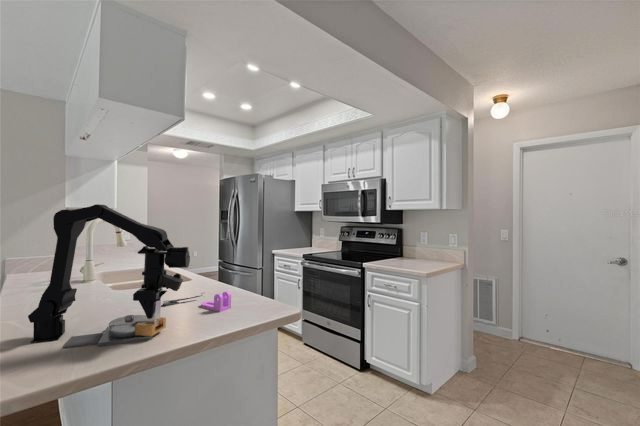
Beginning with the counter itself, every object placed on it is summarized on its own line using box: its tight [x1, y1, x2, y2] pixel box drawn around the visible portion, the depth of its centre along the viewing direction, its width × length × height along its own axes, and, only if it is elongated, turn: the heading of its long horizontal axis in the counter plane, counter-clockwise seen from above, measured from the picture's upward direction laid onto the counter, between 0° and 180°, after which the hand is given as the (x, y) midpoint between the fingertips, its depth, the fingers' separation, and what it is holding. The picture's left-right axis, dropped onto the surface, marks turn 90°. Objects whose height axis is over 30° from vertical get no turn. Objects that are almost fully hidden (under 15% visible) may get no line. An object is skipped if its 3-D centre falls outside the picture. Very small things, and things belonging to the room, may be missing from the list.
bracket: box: [200, 290, 232, 313], centre depth 128 cm, size 13×6×7 cm, turn 61°
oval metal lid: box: [108, 314, 167, 337], centre depth 99 cm, size 16×11×4 cm
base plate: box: [97, 326, 154, 347], centre depth 99 cm, size 14×14×1 cm
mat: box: [62, 332, 104, 350], centre depth 93 cm, size 8×8×1 cm
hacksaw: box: [161, 292, 205, 308], centre depth 139 cm, size 24×10×2 cm, turn 135°
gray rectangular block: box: [145, 299, 162, 327], centre depth 99 cm, size 3×3×8 cm
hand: (152, 316), depth 100 cm, fingers open, 4 cm apart
